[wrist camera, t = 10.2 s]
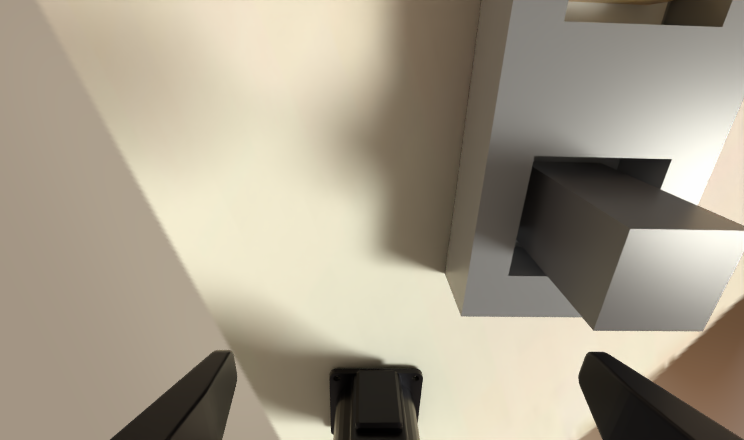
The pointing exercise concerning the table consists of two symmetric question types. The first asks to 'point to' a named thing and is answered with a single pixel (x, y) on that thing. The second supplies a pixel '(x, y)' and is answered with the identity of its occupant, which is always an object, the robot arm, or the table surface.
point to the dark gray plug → (627, 248)
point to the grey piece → (583, 122)
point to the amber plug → (624, 1)
